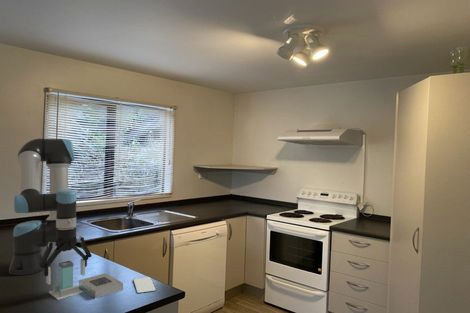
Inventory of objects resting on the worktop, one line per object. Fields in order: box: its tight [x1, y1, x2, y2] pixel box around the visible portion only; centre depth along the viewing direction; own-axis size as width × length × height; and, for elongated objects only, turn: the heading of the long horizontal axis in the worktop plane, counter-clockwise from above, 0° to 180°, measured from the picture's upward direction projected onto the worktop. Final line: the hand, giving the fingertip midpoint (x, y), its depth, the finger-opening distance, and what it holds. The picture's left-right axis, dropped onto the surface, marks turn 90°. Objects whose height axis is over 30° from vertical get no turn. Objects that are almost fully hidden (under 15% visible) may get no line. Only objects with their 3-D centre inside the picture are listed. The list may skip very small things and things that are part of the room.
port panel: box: [78, 273, 124, 299], centre depth 147 cm, size 16×12×3 cm
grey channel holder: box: [48, 283, 84, 301], centre depth 142 cm, size 10×10×3 cm
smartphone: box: [132, 276, 157, 295], centre depth 151 cm, size 8×1×16 cm
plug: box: [58, 260, 74, 292], centre depth 142 cm, size 4×4×12 cm
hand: (66, 279), depth 142 cm, fingers open, 13 cm apart
